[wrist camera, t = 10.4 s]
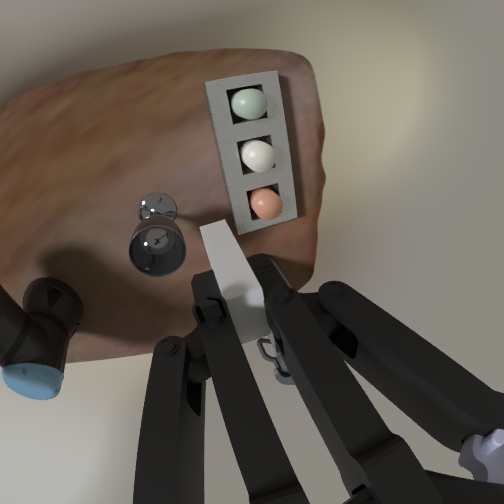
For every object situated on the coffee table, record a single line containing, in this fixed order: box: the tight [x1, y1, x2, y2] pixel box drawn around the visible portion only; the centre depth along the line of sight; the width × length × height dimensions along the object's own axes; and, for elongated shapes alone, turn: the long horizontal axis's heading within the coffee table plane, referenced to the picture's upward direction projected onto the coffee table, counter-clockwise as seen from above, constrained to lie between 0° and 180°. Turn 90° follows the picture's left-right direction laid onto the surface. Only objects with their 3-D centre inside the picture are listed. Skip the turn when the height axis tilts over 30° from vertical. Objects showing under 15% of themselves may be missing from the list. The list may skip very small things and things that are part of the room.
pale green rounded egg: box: [229, 89, 268, 120], centre depth 41 cm, size 5×5×5 cm
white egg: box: [239, 139, 276, 173], centre depth 46 cm, size 5×5×5 cm
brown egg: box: [248, 186, 283, 220], centre depth 51 cm, size 5×5×5 cm
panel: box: [202, 71, 297, 235], centre depth 47 cm, size 12×28×3 cm, turn 10°
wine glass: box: [129, 193, 186, 277], centre depth 43 cm, size 8×8×15 cm
